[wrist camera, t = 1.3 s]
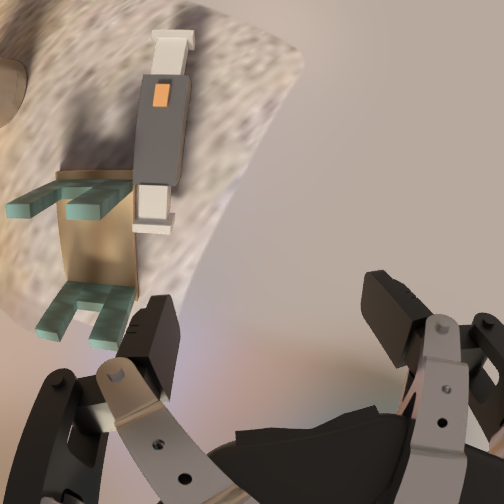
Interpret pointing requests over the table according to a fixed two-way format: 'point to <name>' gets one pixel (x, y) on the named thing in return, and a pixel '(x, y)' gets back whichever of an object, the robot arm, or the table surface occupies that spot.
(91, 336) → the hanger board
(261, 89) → the table surface
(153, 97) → the power strip
